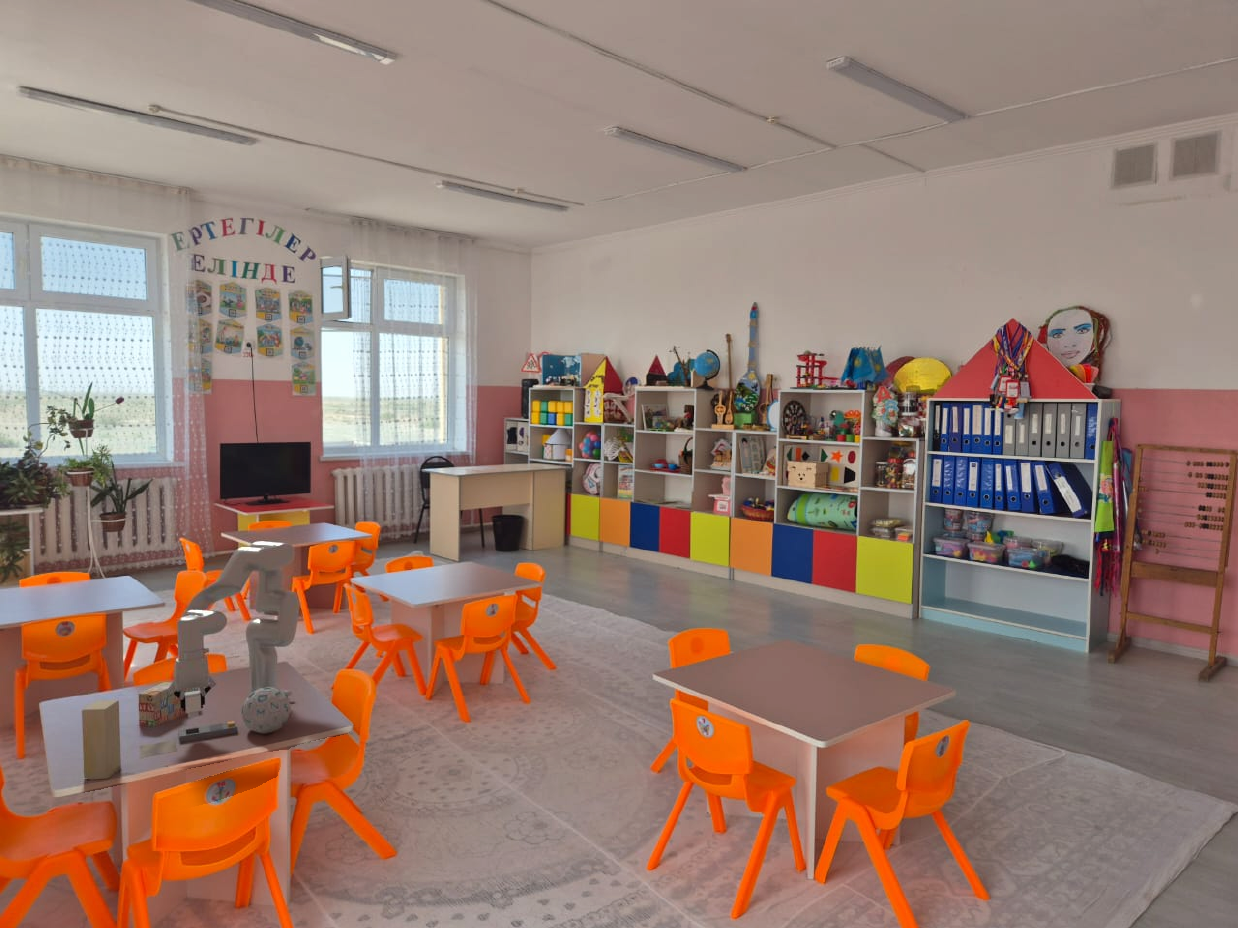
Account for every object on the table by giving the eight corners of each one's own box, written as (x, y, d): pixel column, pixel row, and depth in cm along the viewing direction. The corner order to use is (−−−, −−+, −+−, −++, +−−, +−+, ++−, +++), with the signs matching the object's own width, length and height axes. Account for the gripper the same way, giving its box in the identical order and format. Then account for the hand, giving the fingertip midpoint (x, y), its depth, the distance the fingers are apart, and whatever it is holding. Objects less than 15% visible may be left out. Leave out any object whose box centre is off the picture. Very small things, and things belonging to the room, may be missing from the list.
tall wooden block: (95, 768, 249) (94, 700, 248) (121, 767, 250) (119, 699, 248) (81, 780, 241) (78, 709, 240) (107, 779, 242) (105, 709, 240)
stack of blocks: (184, 706, 301) (183, 673, 301) (199, 707, 300) (198, 674, 299) (138, 728, 280) (137, 692, 280) (154, 729, 279) (153, 694, 278)
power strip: (235, 729, 280) (234, 718, 280) (237, 735, 275) (236, 724, 275) (178, 739, 271) (178, 727, 271) (179, 745, 266) (179, 734, 266)
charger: (200, 710, 274) (199, 690, 274) (201, 716, 269) (200, 695, 269) (185, 713, 272) (184, 692, 271) (186, 719, 267) (185, 698, 267)
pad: (175, 742, 268) (175, 739, 268) (176, 754, 260) (176, 750, 260) (139, 748, 263) (139, 745, 263) (140, 760, 255) (140, 757, 255)
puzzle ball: (292, 735, 275) (292, 691, 274) (242, 743, 269) (242, 698, 268) (288, 720, 289) (288, 678, 288) (241, 727, 282) (240, 684, 281)
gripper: (218, 647, 277) (220, 700, 278) (161, 654, 268) (163, 709, 270) (220, 653, 270) (222, 707, 272) (162, 661, 262) (164, 717, 263)
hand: (192, 707), depth 271 cm, fingers closed on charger, 4 cm apart
